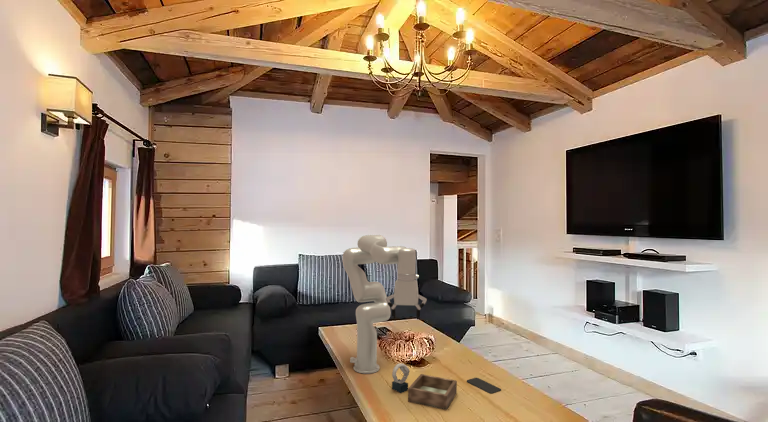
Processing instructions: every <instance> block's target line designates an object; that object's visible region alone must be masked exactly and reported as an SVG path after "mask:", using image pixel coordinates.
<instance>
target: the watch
mask: <svg viewBox="0 0 768 422" xmlns="http://www.w3.org/2000/svg"><path fill="white" fill-rule="evenodd" d="M399 369H400V371H401V372H402V374H403V376H402V378H401V379H400V378H398V376H397V372H398V370H399ZM410 371H411V370H410V368H409V367H408V366H407V365H406V364H404V363H400V362H399V363H397V364H396V365H394V367H393V369H392V375H391V378H392V379H393V381H391V389H392V390H394V392H395V391H396V393H400V394H402V393H405V392H408V388H409V383H408V382H406V381H407V380H408V377H409V375H410Z"/></svg>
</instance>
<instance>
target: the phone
mask: <svg viewBox="0 0 768 422" xmlns="http://www.w3.org/2000/svg"><path fill="white" fill-rule="evenodd" d="M466 383H467V384H469V385H471V386H473V387H476V388H478V389H479V390H481V391H484V392H486V393H487V394H490V395H492V394H496V393H498V392H502V389H501V388H500V387H498V386H496V385H494V384H492V383H489V382H488V381H486V380H483V379H482V378H479V377H473V378H469V379H467V380H466Z"/></svg>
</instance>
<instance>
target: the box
mask: <svg viewBox="0 0 768 422" xmlns="http://www.w3.org/2000/svg"><path fill="white" fill-rule="evenodd" d="M457 385H458V380H455V379H449V378H444V377H439V376H433V375H428V374H423V373H421V374H419V375H418V377H417V378H416V379H415V380H414V381H413V382H412V383H411V385H410V386H408V391H407V402H408V403H413V404H417V405H421V406H426V407H431V408H435V409H439V410H444V411H447V410H448V408H449V407H450V406H451V404H452V402H453V401H454V399H455V397H456V395H457V392H458V390H457V389H458V388H457V387H458V386H457Z"/></svg>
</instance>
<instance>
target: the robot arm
mask: <svg viewBox="0 0 768 422" xmlns="http://www.w3.org/2000/svg"><path fill="white" fill-rule="evenodd" d="M416 256H417V255H416V249H414V248H410V247H409V248H408V247H405V246H402V245H400V246H398V245H397V246H388V241H387V239H386V237H385V236H383V235H380V234H370V235H369V234H367V235H363V236H361V237H359V239H358V240H357V247H351V248H348V249H345V250H344V251H343V253H342V265H343V268H344V271H345V272H346V274H347V276H348V280H349V283H350V287H351V290H352V291H351V292H352V294H353V297H354V299H355V301H356V302H357V303H362V304H360V305H358V306H357V307H356V309H355V319H356V332H357V334H356V335H357V337H356V339H357V340H356V357H354V356H350V358H349V363H351V364H352V363H353V364H354V365H353V370H354V371H355V372H357V373H360V374H365V375H366V374H369V375H370V374H374V373H377V372H378V371H379V370H380V365H379V364H378V363H377V358H378V357H377V355H378V353H377V350H378V348H377V347H378V346H377V345H378V331H377V329H376V328H375V326H374V324H375V323H381V322H386V321H388V320H389V319H391V318H390V317H393V319H394V320H396V307H397V306H415V307H416V309H415V310H416V311H415V312H416V315H415V318H416V320H419V318H420V317H421V309H422V308H423V307H424V306H425V305H426V304H427V298H426V297H424V296H422V295H420V294H419V287H418V286H419V285H418V281H417V279H419V277H420V275H419V274H416V261H417V260H416ZM375 263H378V264H380V265H397V277H396V280H395V282H394V291H393V292H394V293H393V294H391V295H389V296H387V294H386V290H385V287H384V285H383V284H382V283H381V282H379V281H368V278H367V275H366V272H365V270H363V269H362V268H361V267H360V266H359V265H366V264H368V265H370V264H375ZM392 299H393V301H394V302H393V303H392V302H391V300H392ZM419 299H420V300H421V301H422V302H421V303H420V304H419ZM366 302H367V303H366ZM368 302H369V303H368Z"/></svg>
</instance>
